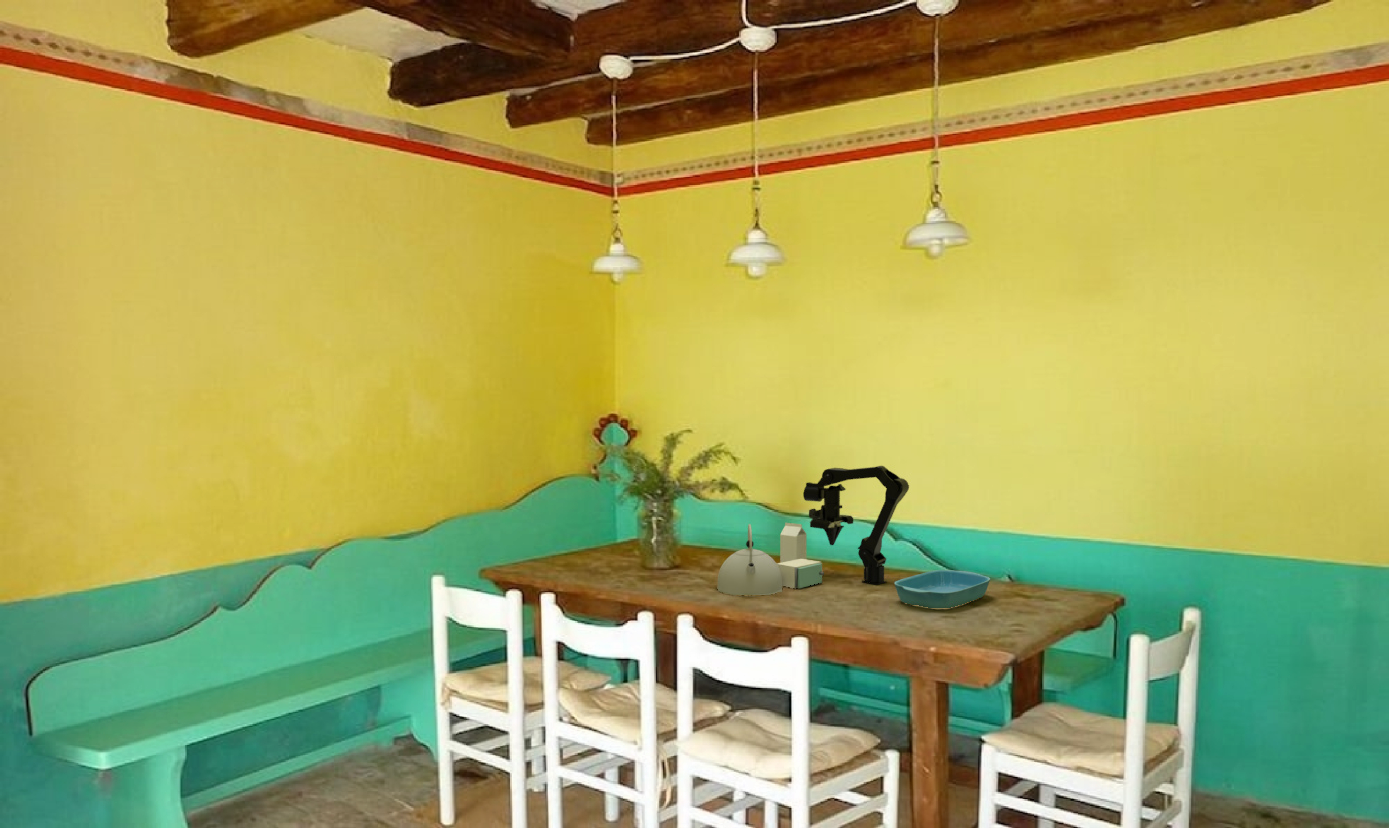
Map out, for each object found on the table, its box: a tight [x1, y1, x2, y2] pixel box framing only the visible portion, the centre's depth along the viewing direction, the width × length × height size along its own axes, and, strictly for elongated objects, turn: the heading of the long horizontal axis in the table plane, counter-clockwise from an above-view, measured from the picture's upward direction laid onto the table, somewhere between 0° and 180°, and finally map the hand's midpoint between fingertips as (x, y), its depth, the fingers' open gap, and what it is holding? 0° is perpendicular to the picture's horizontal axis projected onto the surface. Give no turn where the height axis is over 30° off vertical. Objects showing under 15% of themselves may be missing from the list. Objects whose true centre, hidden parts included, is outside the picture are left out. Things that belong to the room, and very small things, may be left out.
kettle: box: [716, 523, 783, 597], centre depth 344 cm, size 25×23×22 cm
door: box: [798, 563, 825, 589], centre depth 349 cm, size 12×2×7 cm, turn 136°
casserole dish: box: [894, 569, 991, 608], centre depth 327 cm, size 37×22×7 cm, turn 136°
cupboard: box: [776, 558, 822, 589], centre depth 353 cm, size 9×14×8 cm, turn 134°
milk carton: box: [779, 522, 807, 563], centre depth 370 cm, size 7×7×19 cm
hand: (831, 545), depth 363 cm, fingers closed
